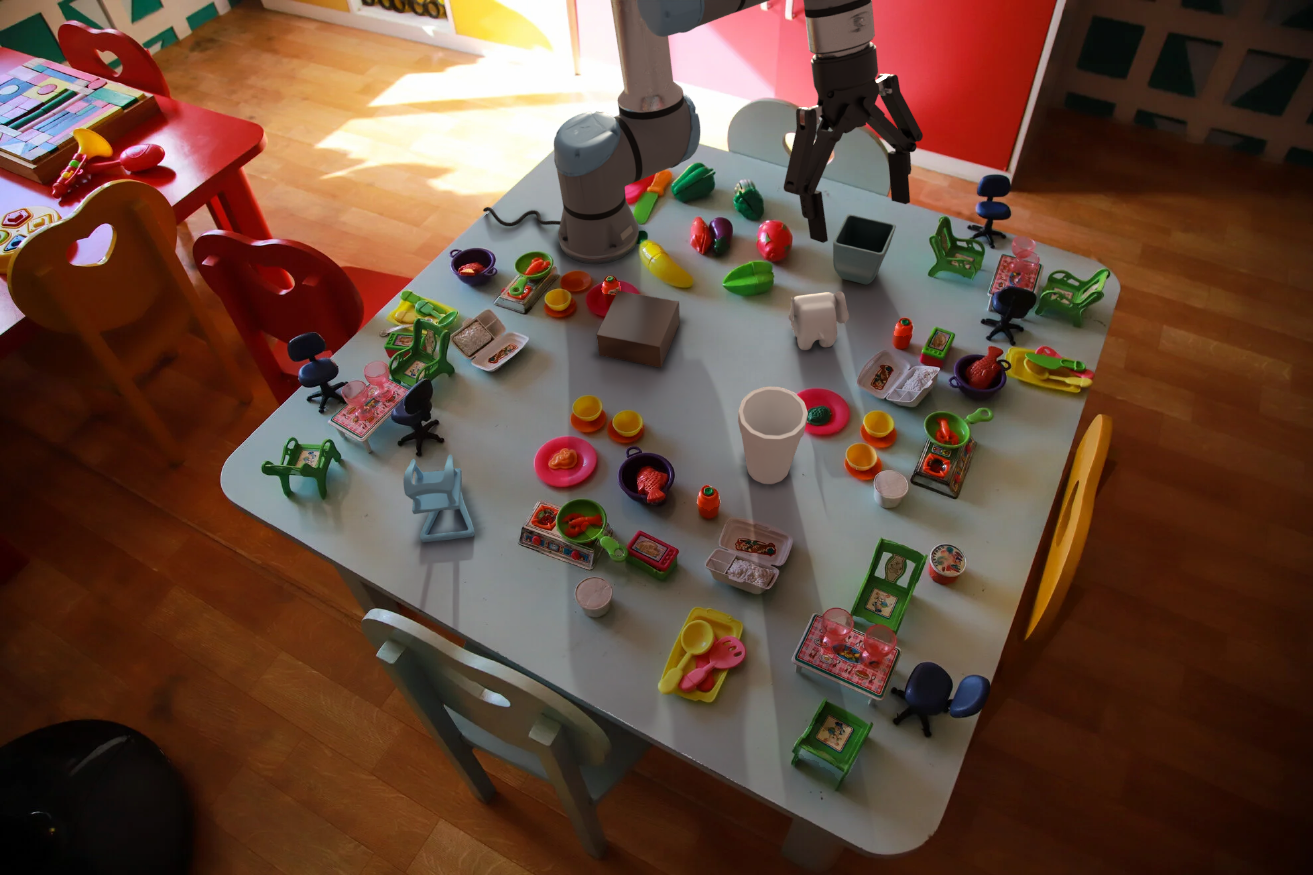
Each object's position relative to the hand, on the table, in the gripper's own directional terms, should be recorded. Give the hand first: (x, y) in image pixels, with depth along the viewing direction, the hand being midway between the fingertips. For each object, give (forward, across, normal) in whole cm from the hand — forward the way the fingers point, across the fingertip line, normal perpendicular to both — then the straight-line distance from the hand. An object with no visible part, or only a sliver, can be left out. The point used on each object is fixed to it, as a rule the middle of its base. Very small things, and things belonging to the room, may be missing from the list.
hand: (860, 220), depth 108 cm
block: (+20, -21, +35) cm, 46 cm away
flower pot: (+24, +20, +28) cm, 42 cm away
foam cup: (+33, -19, +4) cm, 38 cm away
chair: (+26, -63, +21) cm, 71 cm away
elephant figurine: (+26, +4, +21) cm, 34 cm away
